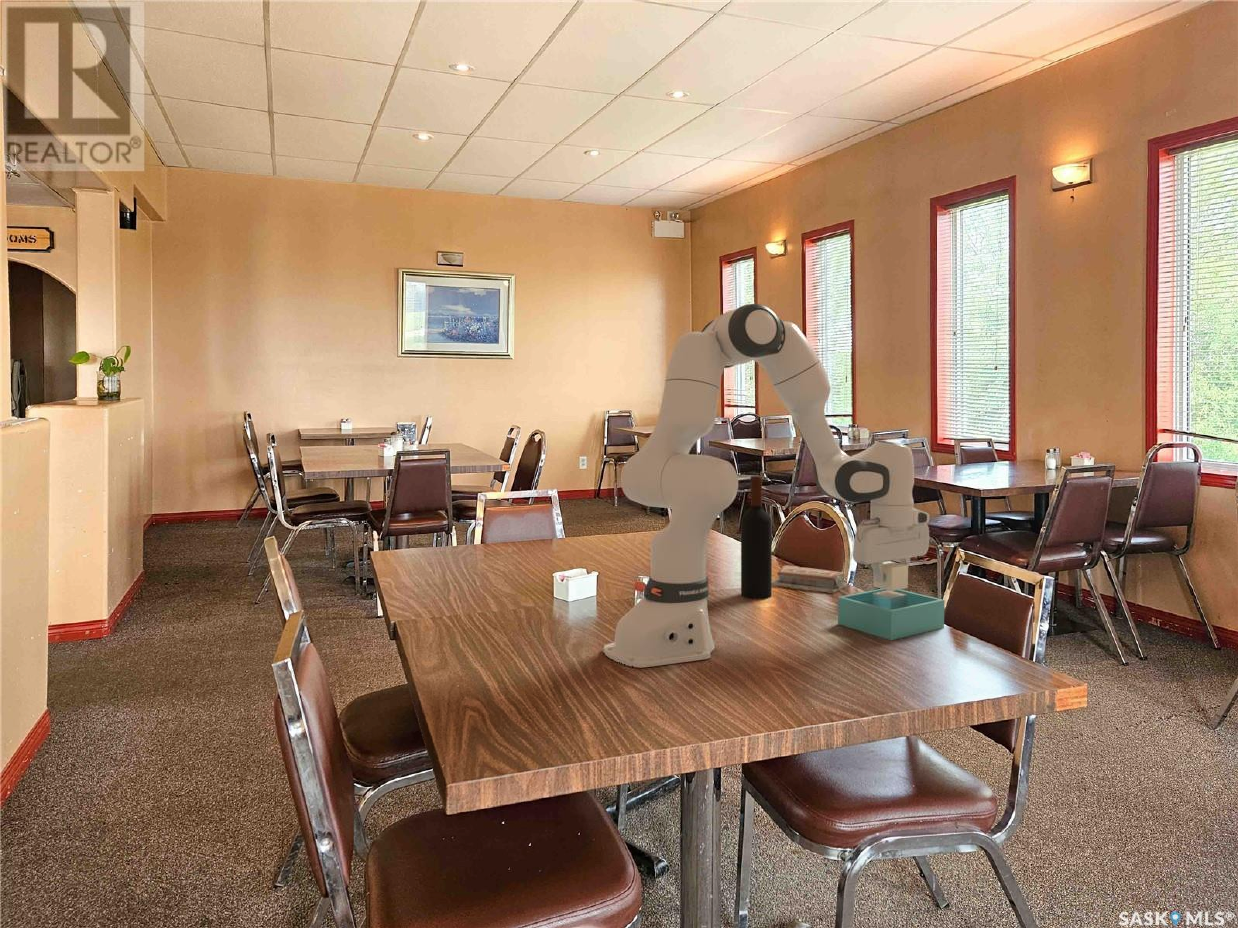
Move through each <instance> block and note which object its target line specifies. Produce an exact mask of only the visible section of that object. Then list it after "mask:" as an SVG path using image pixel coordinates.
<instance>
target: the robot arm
mask: <svg viewBox="0 0 1238 928" xmlns="http://www.w3.org/2000/svg"><path fill="white" fill-rule="evenodd" d="M753 361H754V362H755V363H757V364H758V365H760V367H762V369H763V370H764V371H765V373H766V375H767V377H768V380H769V382H770V384H771V386H772V387H773V390H774V391H775V393H776V395H777V397H778V398H779V400H780V401H781V403H782V405H783V406H784V407H785V409H786V410H787V412H788V413H789V414H790V416H791V418H792V419H793V421H794V422H795V424H796V427H797V428H798V431H799V435H801V437H802V440H803V442H804V444H805V445H806V448H807V450H808V452H809V455H810V456H811V457H810V458H811V459H812V464H813V465H812V466H813V476H814V477H813V478H814V482H815V484H816V487H817V489H818V490H819V491H820V492H821V493H822V494H823V495H824V496H826V497H828V498H831V499H838V500H840V501H844V502H846V503H847V502H848V503H852V504H857V503H858V504H859V503H861V502H862V503H863V502H868V501H870V509H869V510H870V513H869V514H870V516H869V517H870V519H863V520H861V522H860V523H859V524H858V525H857V526H856V531H855V535H854V540H853V550H852V557H853V560H854V562H855V563H857V564H862V565H870V566H871V568H872V570H873V574H874V573H875V581H876V582H885V581H886V574H884V573H883V571H882V568H881V567H883V562H888V561H891V562H892V561H895V560H897V561H898V562H899V563H901V564H906V565H908V567H909V566H910V563H911V558H913V557H919V556H925V555H926V554H927V552H928V550H929V546H930V528H929V525H928V523H929V522H930V518H931V517H930V514H929V512H926V511H923V510H920V509H917V508H915V507H914V503H915V502H914V498H913V488H914V485H915V463H914V462H915V461H914V456H913V451H912V449H911V448H910V447H909V446H908V445H906V444H905V443H899V442H895V441H886V440H877V441H875V442H874V443H873V444H872V445H871V446H870V447H868V448H866V449H864V450H862V451H860V452H859V453H855V454H853V455H851V456H850V455H849V454H847V453H846V452H845V451H843V450H842V449H841V447H840V446H839V445H838V442H837V439H836V438H835V436H834V434H833V431H832V429H831V427H830V425H829V423H828V420H827V418H826V414H825V407H826V403H827V401H828V400H829V397H830V393H831V388H832V387H831V385H830V381H829V377H828V374H827V372H826V369H825V368H824V365H823V363H822V361H821V360H820V357H819V355H818V354H817V352H816V351H815V349H814V347H813V345H812V344H811V343H810V341H809V340H808V338H807V336H805V334H804V333H803V332H802V330H801V329H800V328H799V327H798V326H797V325H796V324H795V323H793V322H791V321H782V320H781V319H780V318H779V316H777V314H776V313H775V312H774V311H773V310H772V309H770V307H768V306H766V305H763V304H760V303H749V304H744V305H742V306H739V307H738V308H735V309H733V310H729V311H726V312H724V313H722V314H721V315H719V316H718V317H716V318H715V319H713V320H711V321H710V322H708V323H707V324H706V325H705V326H704V328H703V329H702V330H700V331H691V332H687V333H684V334H682V335H680V337H678V339H677V340H676V342H675V345H674V347H673V350H672V353H671V355H670V359H669V363H668V367H667V371H666V376H665V381H664V389H663V393H662V399H661V405H660V409H659V413H658V417H657V419H656V423H655V426H654V428H653V430H652V432H651V434H650V435H649V437H648V438H647V440H646V442H645V443H644V445H643V446H642V447H641V448H640V449H639V450H638V451H637V452H635V454H634V455H632V456H631V457H629V458H628V459H627V460H626V462H625V463H624V465H623V467H622V469H621V474H620V486H621V490H622V492H623V494H624V495H625V497H626V498H628V500H630V501H633V502H636V503H638V504H641V505H643V506H647V507H654V508H665V509H671V515H670V520H669V523H668V525H667V526H666V527H664V528H662V529H660V530H659V531H658V532H656V534H654V536H653V537H652V539H651V541H650V576H649V578H648V580H647V583H645V582H644V581H641V580H636V581H634V583H633V584H632V585H633V590H634V591H637V592H639V593H643V597H642V598H641V599H640V600H639V601H638V602H637V603H636V604H635V605H634V606H633V607H631V609H630V610H629V611H627V612H626V614H625V615H623V616H622V617H621V618H620V619H619V620H618V622H617V624H616V628H615V634H614V642H609V643H608V644H605V645H604V646H603V654H604V653H605V654H604V655H605V656H607V657H608V658H609V659H611V660H612V659H613V660H612V661H614V662H617V663H619V662H620V663H619V664H621V663H622V665H624V664H625V666H628V667H632V666H633V668H648V667H649V668H650V667H658V666H665V665H666V666H667V665H673V664H679V663H686V662H695V661H702V660H708V659H710V658H711V656H712V655H711V653H712V652H713V651H714V650H715V643H714V639H713V636H712V632H711V631H712V630H711V626H710V620H709V619H710V618H709V611H708V598H709V595H710V594H709V593H710V592H709V578H708V577H707V551H708V540H709V535H710V533H711V530H712V528H713V525H714V523H715V521H716V520H717V518H718V517H719V516H720V514H721V513H722V512H724V510H726V509H727V508H728V507H730V505H731V504H732V503H733V502H734V500H735V499H736V496H737V493H738V490H739V479H738V477H739V476H738V474H737V470H736V469H735V467H734V466H733V465H732V463H731V462H730V461H727V460H725V459H721V458H720V457H716V456H711V455H708V454H690V451H691V449H692V448H693V446H694V445H695V444H696V443H697V442H698V441H699V440H701V439H702V438H703V437H705V436H706V435H708V434H710V432H711V431H712V430H713V428H714V426H715V423H716V418H717V411H718V404H719V397H720V389H721V383H722V375H723V373H724V370H725V369H728V368H732V367H735V366H738V365H743V364H747V363H750V362H753Z"/></svg>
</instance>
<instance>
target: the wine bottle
mask: <svg viewBox="0 0 1238 928" xmlns="http://www.w3.org/2000/svg"><path fill="white" fill-rule="evenodd" d="M749 507H750V508H749V510H747V511H746V512H745V513H744V514H743V515H742V517H741V520H740V595H741V597H743V598H745V599H749V600H767V599H770V598H772V593H773V590H772V589H773V588H772V587H773V586H772V581H773V580H772V574H773V573H772V568H773V567H772V566H773V564H772V561H773V560H772V559H773V558H772V555H773V554H772V547H773V545H772V544H773V543H772V542H773V541H772V540H773V538H772V536H773V533H772V531H773V530H772V529H773V528H772V527H773V526H772V524H773V523H772V517H771V516H770V514H769V513H767V512H766V511H765V510H764V508H763V476H760V475H751V476H750V506H749Z"/></svg>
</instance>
